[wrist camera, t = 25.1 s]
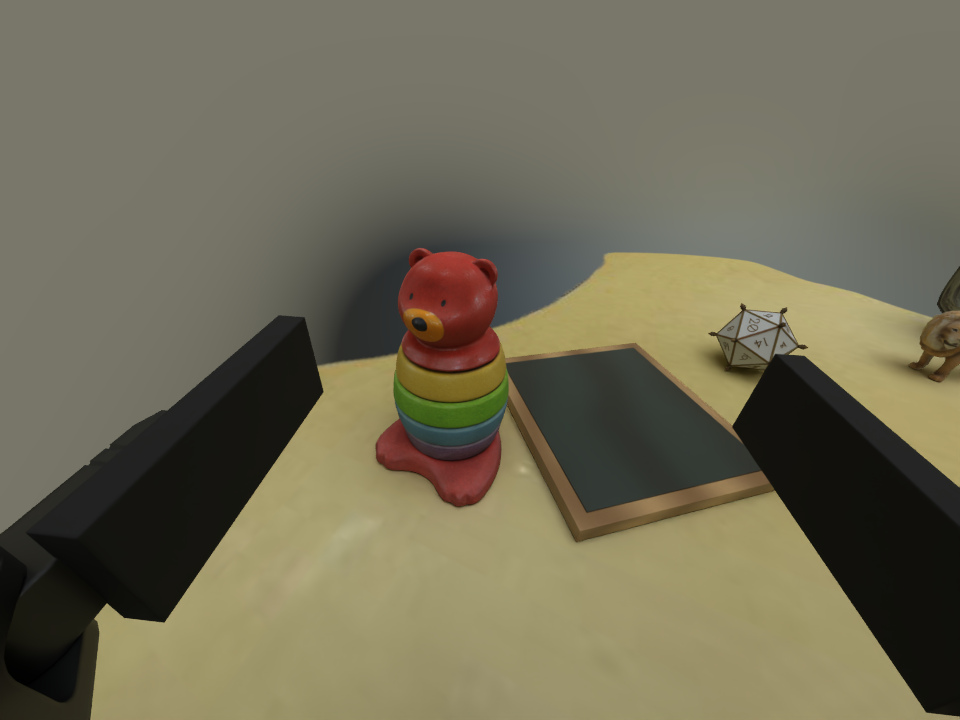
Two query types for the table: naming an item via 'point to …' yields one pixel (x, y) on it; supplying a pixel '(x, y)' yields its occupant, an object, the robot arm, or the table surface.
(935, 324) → the lion figurine
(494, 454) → the stacking bear
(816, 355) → the table surface
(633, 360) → the chalkboard
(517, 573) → the table surface
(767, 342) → the game die
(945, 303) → the tabletop clock
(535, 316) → the table surface
